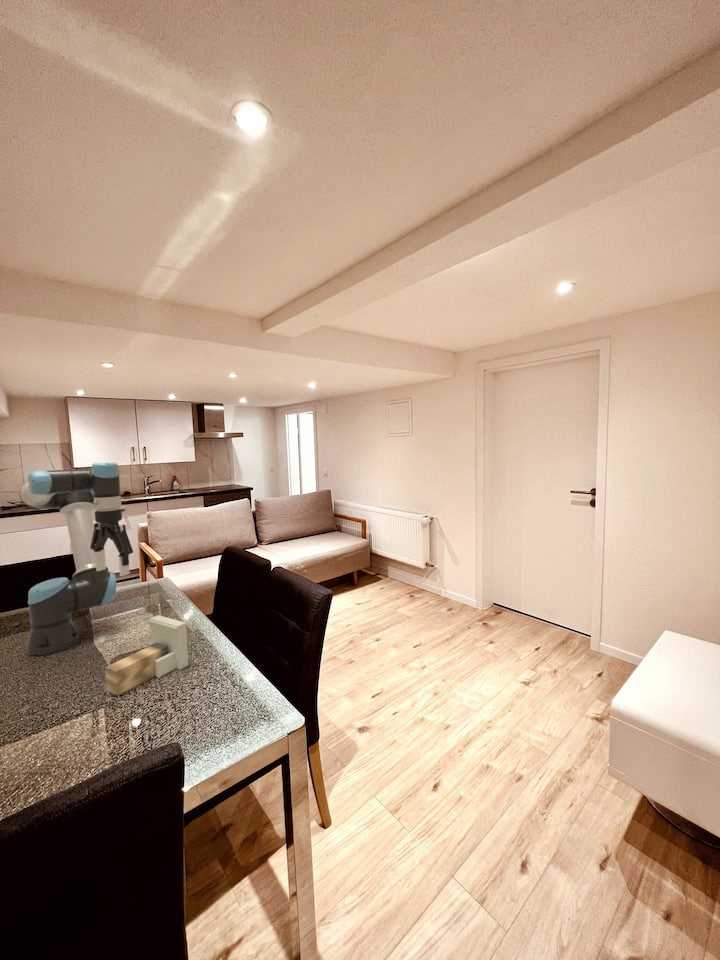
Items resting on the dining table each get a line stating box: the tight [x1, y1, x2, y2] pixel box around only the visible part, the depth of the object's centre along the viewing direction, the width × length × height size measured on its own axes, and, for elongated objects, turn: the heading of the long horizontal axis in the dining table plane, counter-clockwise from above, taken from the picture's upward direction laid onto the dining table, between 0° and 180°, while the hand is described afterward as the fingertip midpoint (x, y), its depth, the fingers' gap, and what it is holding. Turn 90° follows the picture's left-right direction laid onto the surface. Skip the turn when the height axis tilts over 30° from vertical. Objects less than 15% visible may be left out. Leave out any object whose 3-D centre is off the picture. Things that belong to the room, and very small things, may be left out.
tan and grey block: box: [104, 643, 168, 696], centre depth 121 cm, size 16×6×7 cm, turn 151°
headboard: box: [147, 614, 189, 678], centre depth 128 cm, size 14×9×14 cm, turn 61°
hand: (112, 572), depth 134 cm, fingers open, 13 cm apart
